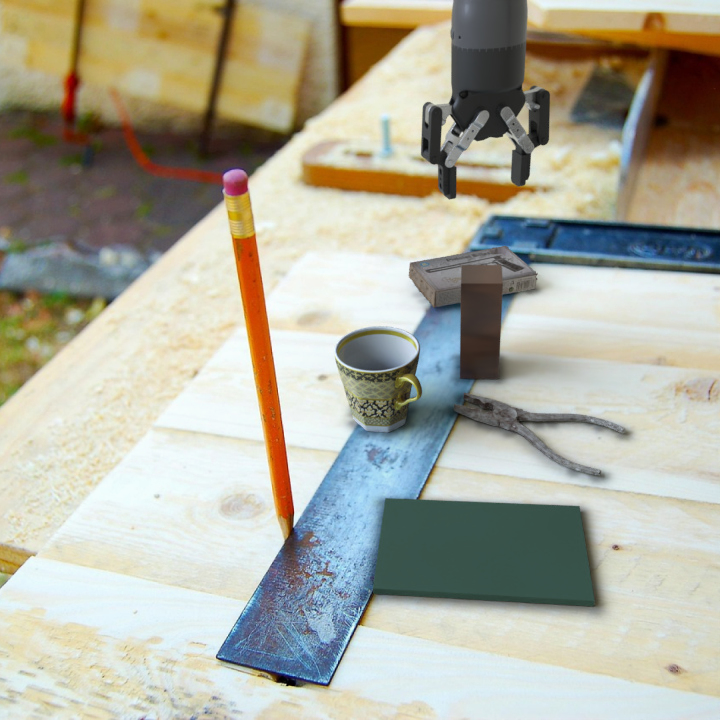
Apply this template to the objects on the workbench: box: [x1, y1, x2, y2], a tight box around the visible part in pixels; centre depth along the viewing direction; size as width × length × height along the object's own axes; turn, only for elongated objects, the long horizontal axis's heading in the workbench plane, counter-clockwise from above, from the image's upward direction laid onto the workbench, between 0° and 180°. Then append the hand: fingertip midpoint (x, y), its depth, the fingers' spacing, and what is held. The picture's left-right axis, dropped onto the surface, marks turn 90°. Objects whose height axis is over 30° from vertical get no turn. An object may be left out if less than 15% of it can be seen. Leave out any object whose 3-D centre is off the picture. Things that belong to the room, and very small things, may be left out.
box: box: [408, 245, 539, 309], centre depth 120 cm, size 11×17×3 cm, turn 108°
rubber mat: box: [372, 497, 596, 607], centre depth 75 cm, size 20×12×1 cm, turn 83°
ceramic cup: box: [333, 325, 423, 433], centre depth 90 cm, size 13×10×10 cm
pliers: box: [452, 392, 626, 476], centre depth 89 cm, size 10×1×20 cm
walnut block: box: [459, 265, 503, 380], centre depth 98 cm, size 5×5×14 cm
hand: (484, 190), depth 86 cm, fingers open, 8 cm apart
